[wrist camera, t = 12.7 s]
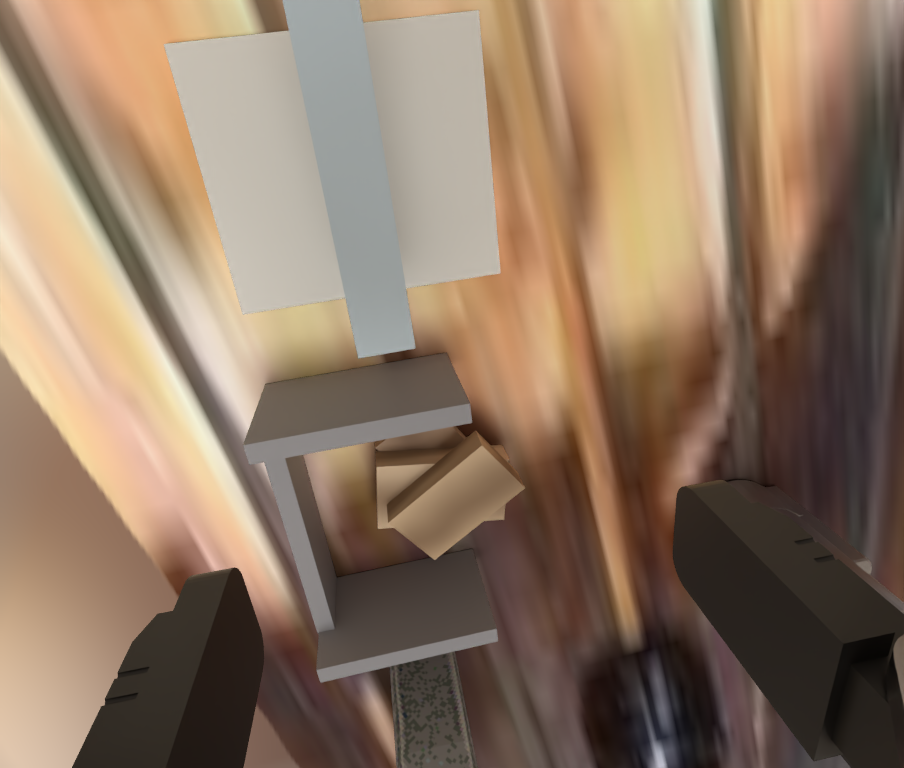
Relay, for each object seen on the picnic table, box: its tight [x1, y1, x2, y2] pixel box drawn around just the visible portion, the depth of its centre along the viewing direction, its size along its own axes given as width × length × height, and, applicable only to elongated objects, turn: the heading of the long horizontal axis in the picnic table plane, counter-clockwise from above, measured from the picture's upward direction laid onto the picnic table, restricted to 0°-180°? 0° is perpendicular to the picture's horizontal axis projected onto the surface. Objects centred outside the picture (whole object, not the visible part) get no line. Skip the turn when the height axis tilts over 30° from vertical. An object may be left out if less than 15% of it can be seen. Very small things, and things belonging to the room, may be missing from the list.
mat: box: [164, 10, 500, 315], centre depth 31 cm, size 16×14×1 cm
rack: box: [243, 353, 498, 682], centre depth 36 cm, size 12×18×8 cm, turn 7°
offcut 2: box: [375, 445, 509, 529], centre depth 38 cm, size 5×9×2 cm, turn 88°
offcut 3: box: [387, 430, 525, 560], centre depth 36 cm, size 5×8×2 cm, turn 130°
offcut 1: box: [375, 426, 466, 452], centre depth 40 cm, size 5×10×2 cm, turn 37°
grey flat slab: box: [283, 0, 416, 359], centre depth 25 cm, size 2×13×12 cm, turn 7°
